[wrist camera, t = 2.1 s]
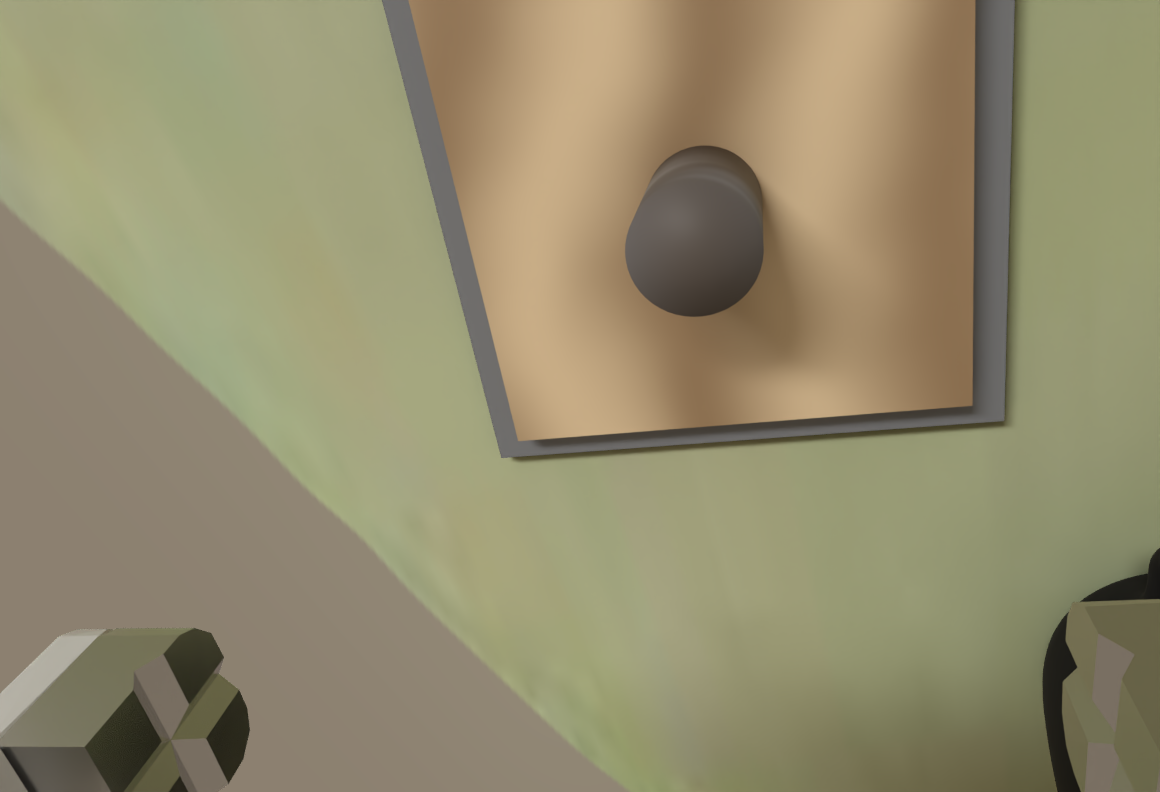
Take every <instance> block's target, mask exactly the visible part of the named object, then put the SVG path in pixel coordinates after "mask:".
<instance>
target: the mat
mask: <svg viewBox="0 0 1160 792" xmlns="http://www.w3.org/2000/svg"><path fill="white" fill-rule="evenodd" d="M382 2H383V6H384V10H385V14H386V17H387V21H388V25H389V29H390V33H391V37H392V40H393V44H394V48H395V52H396V56H397V60H398V63H399V67H400V71H401V75H402V79H403V83H404V86H405V90H406V94H407V98H408V102H409V105H410V109H411V113H412V117H413V121H414V125H415V128H416V132H417V136H418V140H419V144H420V148H421V151H422V155H423V159H424V163H425V167H426V171H427V174H428V178H429V182H430V186H431V190H432V194H433V197H434V201H435V205H436V209H437V213H438V217H439V220H440V224H441V228H442V232H443V236H444V240H445V243H446V247H447V251H448V255H449V259H450V263H451V266H452V270H453V274H454V278H455V282H456V286H457V289H458V293H459V297H460V301H461V305H462V308H463V312H464V316H465V320H466V324H467V328H468V331H469V335H470V339H471V343H472V347H473V351H474V354H475V358H476V362H477V366H478V370H479V374H480V377H481V381H482V385H483V389H484V393H485V397H486V400H487V404H488V408H489V412H490V416H491V420H492V423H493V427H494V431H495V435H496V439H497V443H498V446H499V450H500V454H501V458H507V457H520V456H534V455H547V454H561V453H575V452H588V451H602V450H615V449H629V448H643V447H656V446H670V445H683V444H697V443H711V442H724V441H738V440H751V439H765V438H779V437H792V436H806V435H819V434H833V433H847V432H860V431H874V430H887V429H901V428H915V427H928V426H942V425H955V424H969V423H983V422H996V421H1004V410H1005V371H1006V331H1007V291H1008V251H1009V211H1010V171H1011V131H1012V91H1013V51H1014V11H1015V0H975V126H974V265H973V403H972V406H963V407H950V408H937V409H924V410H912V411H899V412H886V413H873V414H860V415H848V416H835V417H822V418H809V419H796V420H784V421H771V422H758V423H745V424H732V425H720V426H707V427H694V428H681V429H668V430H655V431H643V432H630V433H617V434H604V435H591V436H579V437H566V438H553V439H540V440H527V441H518V438H517V434H516V430H515V426H514V422H513V418H512V414H511V410H510V406H509V402H508V398H507V394H506V390H505V386H504V382H503V378H502V374H501V370H500V366H499V362H498V358H497V354H496V350H495V346H494V342H493V338H492V334H491V330H490V326H489V322H488V318H487V314H486V310H485V306H484V302H483V298H482V294H481V290H480V286H479V282H478V278H477V274H476V270H475V266H474V262H473V258H472V254H471V250H470V246H469V241H468V237H467V233H466V229H465V225H464V221H463V217H462V213H461V209H460V205H459V201H458V197H457V193H456V189H455V185H454V181H453V177H452V173H451V169H450V165H449V161H448V157H447V153H446V149H445V145H444V141H443V137H442V133H441V129H440V125H439V121H438V117H437V113H436V109H435V105H434V101H433V97H432V93H431V89H430V85H429V81H428V77H427V73H426V69H425V65H424V61H423V57H422V53H421V49H420V45H419V41H418V37H417V33H416V29H415V25H414V21H413V17H412V13H411V9H410V5H409V1H408V0H382Z"/></svg>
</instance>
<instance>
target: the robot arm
mask: <svg viewBox="0 0 1160 792" xmlns="http://www.w3.org/2000/svg"><path fill="white" fill-rule="evenodd" d="M1066 643H1067V645H1068V647H1069V649H1070V652H1071V654H1072V656H1073V658H1074V661H1075V663H1076V665H1077V667H1078V668H1076V669H1075V670H1074V671H1073V672H1072V673H1071V674H1070V675H1069V676H1068V677H1067V678H1066V679H1065V680H1064V681H1063V692H1062V717H1063V724H1064V732H1065V740H1066V747H1067V750H1068V754H1069V758H1070V761H1071V765H1072V768H1073V772H1074V775H1075V777H1076V780H1077V783H1078V785H1079V788H1080V791H1081V792H1160V599H1148V600H1119V601H1091V602H1073V603H1072V605H1071V608H1070V611H1069V613H1068V616H1067V628H1066ZM223 659H224V657H223V655H222V653H221V651H220V649H219V647H218V645H217V643H216V641H215V640H214V638H213V636H212V634H211V633H209V632H206V631H202V630H199V629H196V628H117V629H114V630H110V629H81V630H80V629H79V630H75V631H73V632H70V633H67V634H64V635H62V636H59V637H58V638H57V639H56V640H55V641H54V642H53V643H52V644H51V645H50V646H49V647H48V648H47V649H46V650H45V651H43V652H42V653H41V654H40V655H39V656H38V657H37V659H35V660H34V661H33V662H32V663H31V664H30V665H29V666H28V667H27V668H26V669H25V670H24V671H23V672H22V673H21V674H20V675H19V676H18V677H17V678H16V679H15V680H14V681H13V682H12V683H11V684H10V685H9V686H8V687H7V688H6V689H4V690H3V692H2V693H0V792H218V791H219V790H221V789H222V788H224V787H225V786H226V785H227V784H229V782H230V780H231V779H232V777H233V775H234V773H235V772H236V770H237V769H238V767H239V765H240V764H241V762H242V760H243V758H244V753H245V749H246V744H247V740H248V736H249V731H250V728H249V720H248V712H247V707H246V704H245V702H244V700H243V698H242V695H241V693H240V691H239V690H238V689H237V688H236V687H235V686H233V685H232V684H231V683H230V682H228V681H227V680H226V679H225V678H223V677H222V676H221V675H220V674H219V672H220V669H221V665H222V662H223Z"/></svg>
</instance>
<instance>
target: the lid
mask: <svg viewBox="0 0 1160 792" xmlns="http://www.w3.org/2000/svg"><path fill="white" fill-rule="evenodd" d="M408 1H409V5H410V9H411V13H412V17H413V21H414V25H415V29H416V33H417V37H418V41H419V45H420V49H421V53H422V57H423V61H424V65H425V69H426V73H427V77H428V81H429V85H430V89H431V93H432V97H433V101H434V105H435V109H436V113H437V117H438V121H439V125H440V129H441V133H442V137H443V141H444V145H445V149H446V153H447V157H448V161H449V165H450V169H451V173H452V177H453V181H454V185H455V189H456V193H457V197H458V201H459V205H460V209H461V213H462V217H463V221H464V225H465V229H466V233H467V237H468V241H469V246H470V250H471V254H472V258H473V262H474V266H475V270H476V274H477V278H478V282H479V286H480V290H481V294H482V298H483V302H484V306H485V310H486V314H487V318H488V322H489V326H490V330H491V334H492V338H493V342H494V346H495V350H496V354H497V358H498V362H499V366H500V370H501V374H502V378H503V382H504V386H505V390H506V394H507V398H508V402H509V406H510V410H511V414H512V418H513V422H514V426H515V430H516V434H517V438H518V441H527V440H540V439H553V438H566V437H579V436H591V435H604V434H617V433H630V432H643V431H655V430H668V429H681V428H694V427H707V426H720V425H732V424H745V423H758V422H771V421H784V420H796V419H809V418H822V417H835V416H848V415H860V414H873V413H886V412H899V411H912V410H924V409H937V408H950V407H963V406H972V403H973V265H974V126H975V0H408Z"/></svg>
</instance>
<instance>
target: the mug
mask: <svg viewBox="0 0 1160 792" xmlns="http://www.w3.org/2000/svg"><path fill="white" fill-rule="evenodd" d="M1148 599H1160V548H1159V549H1158V550H1157V551H1156V552H1155V553H1154V555H1153V556H1152V558H1151V560H1150V564H1149V570H1148V574H1144V575H1139V576H1134V577H1131V578H1127V579H1124V580H1121V581H1118V582H1115V583H1112V584H1110V585H1108V586H1105V587H1103V588H1101V589H1099V590H1097V591H1096V592H1094V593H1092V594H1091V595H1089V596H1087V597H1086V598H1084V599H1083V600H1082V601H1080V602H1091V601H1119V600H1148ZM1068 613H1069V612H1068ZM1068 613H1067V614H1066V616H1065V617H1064V618H1063V619H1062V621H1061V622H1060V623H1059V625H1058V627H1057V628H1056V630H1055V632H1054V633H1053V636H1052V638H1051V640H1050V643H1049V646H1048V649H1047V653H1046V657H1045V662H1044V669H1043V704H1044V715H1045V723H1046V730H1047V737H1048V743H1049V749H1050V755H1051V761H1052V766H1053V771H1054V776H1055V781H1056V786H1057V790H1058V792H1081V791H1080V788H1079V785H1078V783H1077V780H1076V777H1075V775H1074V772H1073V768H1072V765H1071V761H1070V758H1069V754H1068V750H1067V747H1066V740H1065V732H1064V724H1063V717H1062V692H1063V681H1064V680H1065V679H1066V678H1067V677H1068V676H1069V675H1070V674H1071V673H1072V672H1073V671H1074V670H1075V669H1076V668H1078V667H1077V665H1076V663H1075V661H1074V658H1073V656H1072V654H1071V652H1070V649H1069V647H1068V645H1067V643H1066V628H1067V616H1068Z"/></svg>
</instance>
